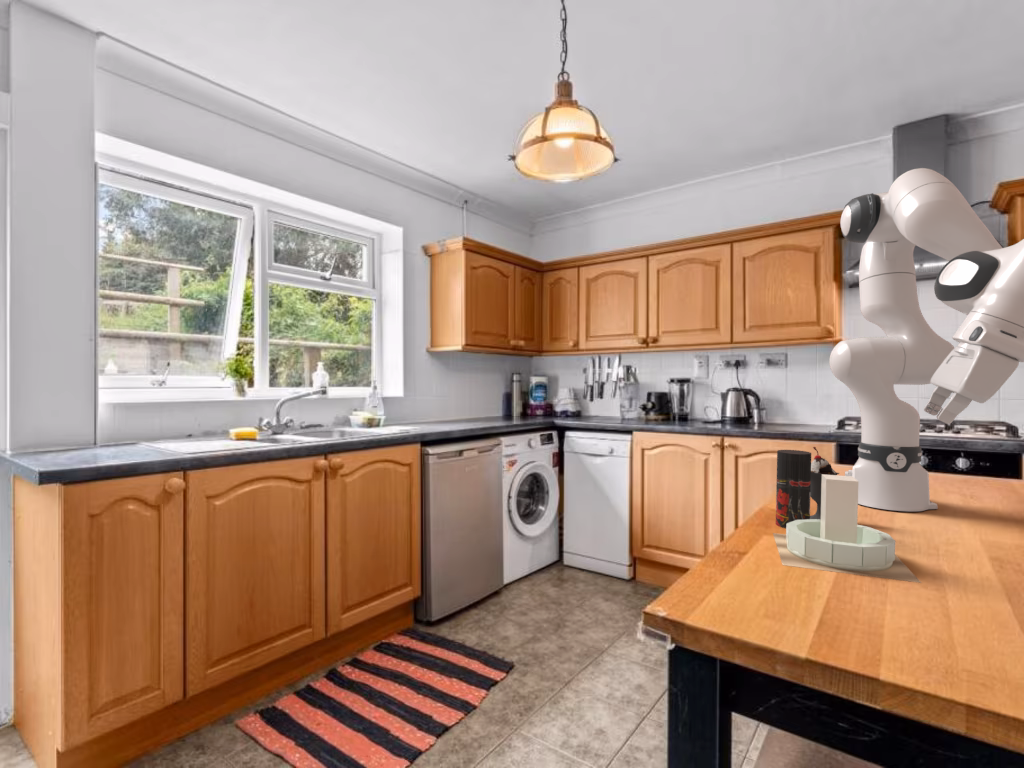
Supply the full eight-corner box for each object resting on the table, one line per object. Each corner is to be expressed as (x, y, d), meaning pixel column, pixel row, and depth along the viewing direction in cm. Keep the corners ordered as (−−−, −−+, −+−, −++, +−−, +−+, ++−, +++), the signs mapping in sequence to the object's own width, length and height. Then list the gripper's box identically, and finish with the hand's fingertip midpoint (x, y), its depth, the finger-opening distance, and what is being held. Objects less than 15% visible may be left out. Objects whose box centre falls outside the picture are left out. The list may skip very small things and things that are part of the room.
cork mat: (772, 535, 101) (772, 533, 101) (886, 547, 94) (886, 545, 94) (782, 567, 84) (782, 564, 84) (921, 585, 78) (921, 582, 78)
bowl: (782, 536, 99) (783, 515, 99) (878, 546, 93) (879, 525, 93) (792, 563, 85) (792, 539, 85) (905, 577, 79) (906, 551, 79)
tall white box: (820, 543, 92) (821, 474, 92) (850, 547, 91) (852, 476, 90) (824, 551, 88) (826, 479, 88) (856, 555, 86) (858, 481, 86)
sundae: (807, 513, 117) (808, 444, 116) (842, 519, 112) (844, 448, 112) (796, 519, 112) (798, 447, 112) (833, 526, 107) (834, 451, 107)
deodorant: (814, 533, 102) (816, 454, 102) (780, 531, 104) (782, 453, 103) (803, 524, 108) (805, 450, 108) (772, 522, 109) (773, 449, 109)
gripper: (950, 331, 94) (903, 400, 98) (988, 331, 76) (927, 416, 80) (991, 348, 91) (941, 418, 95) (1040, 352, 73) (975, 437, 77)
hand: (935, 417), depth 87 cm, fingers open, 8 cm apart
